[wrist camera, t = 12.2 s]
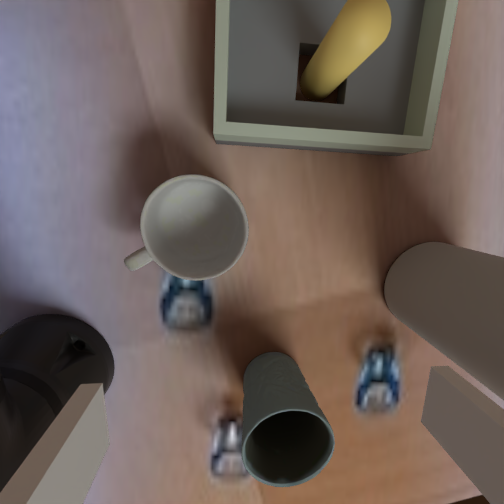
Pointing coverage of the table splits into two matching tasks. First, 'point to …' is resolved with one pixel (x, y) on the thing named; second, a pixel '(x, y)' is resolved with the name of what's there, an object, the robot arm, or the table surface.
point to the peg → (346, 46)
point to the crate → (349, 91)
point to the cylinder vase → (453, 305)
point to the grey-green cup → (282, 424)
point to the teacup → (191, 228)
